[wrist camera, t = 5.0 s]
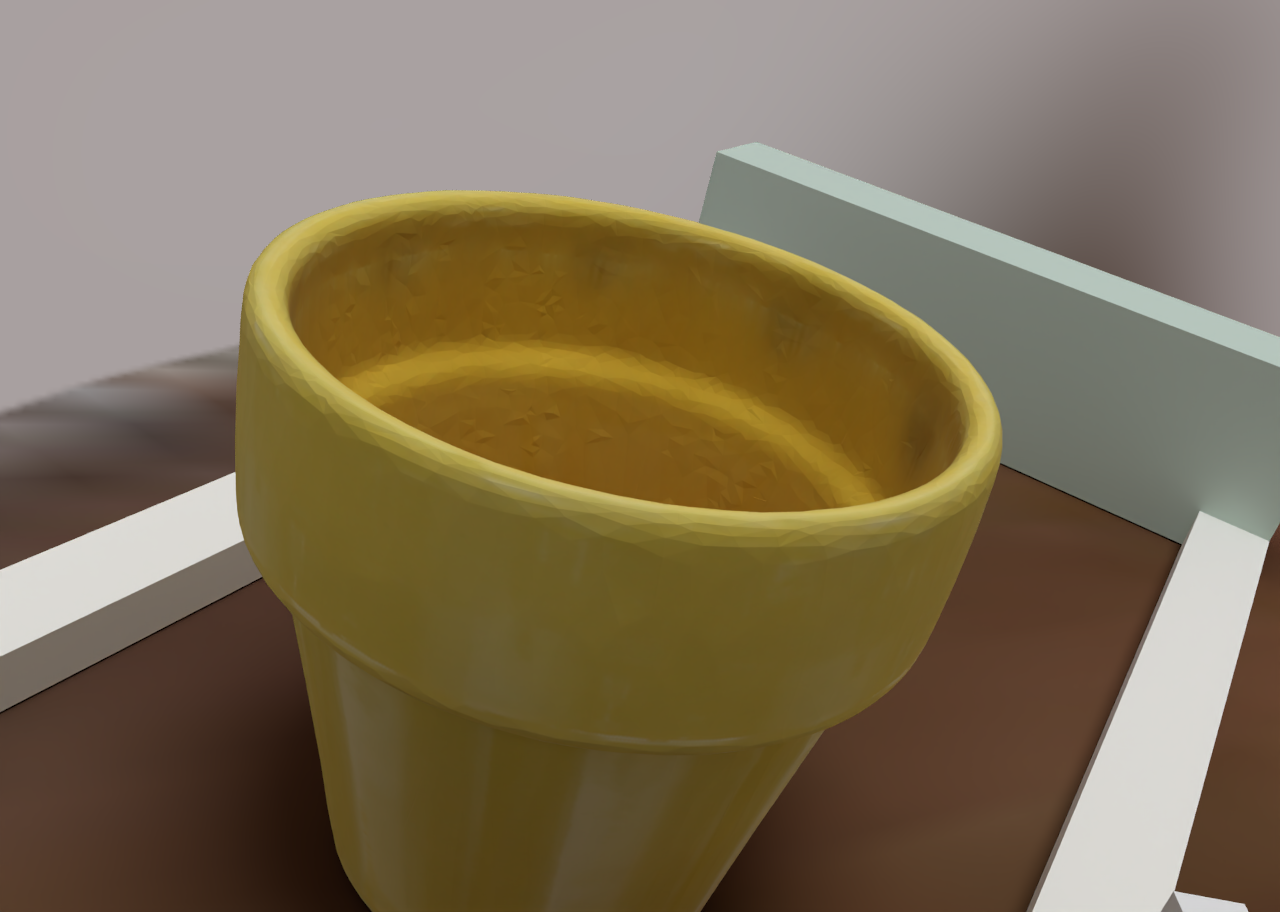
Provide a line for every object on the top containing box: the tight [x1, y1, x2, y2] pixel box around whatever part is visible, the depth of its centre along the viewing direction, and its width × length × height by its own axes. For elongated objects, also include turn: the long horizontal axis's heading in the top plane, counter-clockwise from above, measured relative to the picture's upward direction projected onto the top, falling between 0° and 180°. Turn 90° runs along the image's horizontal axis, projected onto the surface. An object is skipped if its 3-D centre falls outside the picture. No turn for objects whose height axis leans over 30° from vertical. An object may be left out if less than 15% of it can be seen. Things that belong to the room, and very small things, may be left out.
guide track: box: [0, 142, 1280, 912], centre depth 27 cm, size 32×20×6 cm, turn 148°
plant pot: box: [235, 190, 1002, 912], centre depth 19 cm, size 10×10×10 cm
